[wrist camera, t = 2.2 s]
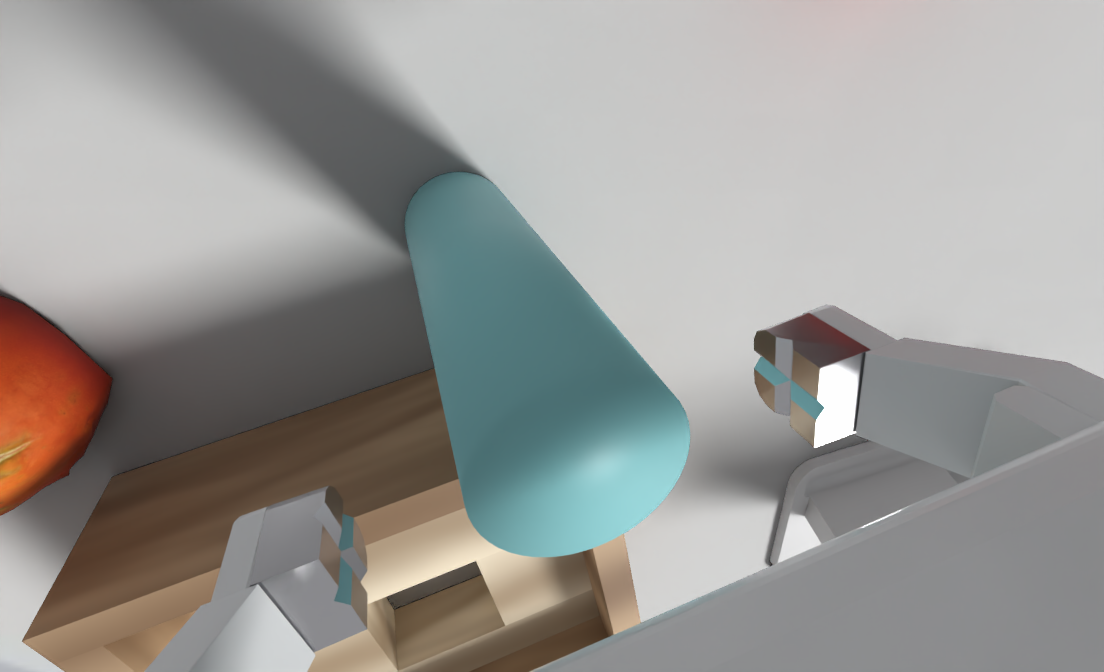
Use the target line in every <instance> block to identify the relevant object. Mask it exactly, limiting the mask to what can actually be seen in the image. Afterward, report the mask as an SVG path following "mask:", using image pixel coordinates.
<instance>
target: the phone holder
mask: <svg viewBox="0 0 1104 672" xmlns="http://www.w3.org/2000/svg"><path fill="white" fill-rule="evenodd" d="M969 479H970V478H968V477H966V476H963V475H960V474H958V473H955V472H952V471H950V470H947V469H944V468H942V467H939V466H936V465H934V464H931V463H928V462H926V461H923V460H920V459H918V458H915V457H912V456H910V455H907V454H904V453H902V452H899V451H896V450H894V449H891V448H888V447H886V446H883V445H880V444H878V443H875V442H872V441H868V442H865V443H861V444H858V445H855V446H851V447H848V448H845V449H841V450H838V451H834V452H831V453H828V454H824V455H821V456H818V457H814V458H811V459H809V460H807V461H805V462H804V463H802V464H801V465H800V466H798V467H797V468H796V469H795V471H794V472H793V473H792V475H791V476H790V478H789V481H788V485H787V489H786V493H785V497H784V502H783V506H782V510H781V514H780V519H779V523H778V527H777V531H776V536H775V540H774V544H773V548H772V552H771V557H770V562H771V563H772V564H773V565H775V564H777V563H779V562H782V561H784V560H786V559H788V558H791V557H793V556H795V555H798V554H800V553H802V552H804V551H807V550H809V549H811V548H813V547H816V546H818V545H820V544H823V543H825V542H827V541H829V540H832V539H834V538H836V537H838V536H841V535H843V534H845V533H848V532H850V531H852V530H854V529H857V528H859V527H861V526H864V525H866V524H868V523H870V522H873V521H875V520H877V519H879V518H882V517H884V516H886V515H889V514H891V513H893V512H895V511H898V510H900V509H902V508H905V507H907V506H909V505H911V504H914V503H916V502H918V501H921V500H923V499H925V498H927V497H930V496H932V495H934V494H937V493H939V492H941V491H943V490H946V489H948V488H950V487H953V486H955V485H957V484H959V483H962V482H964V481H966V480H969Z"/></svg>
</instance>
